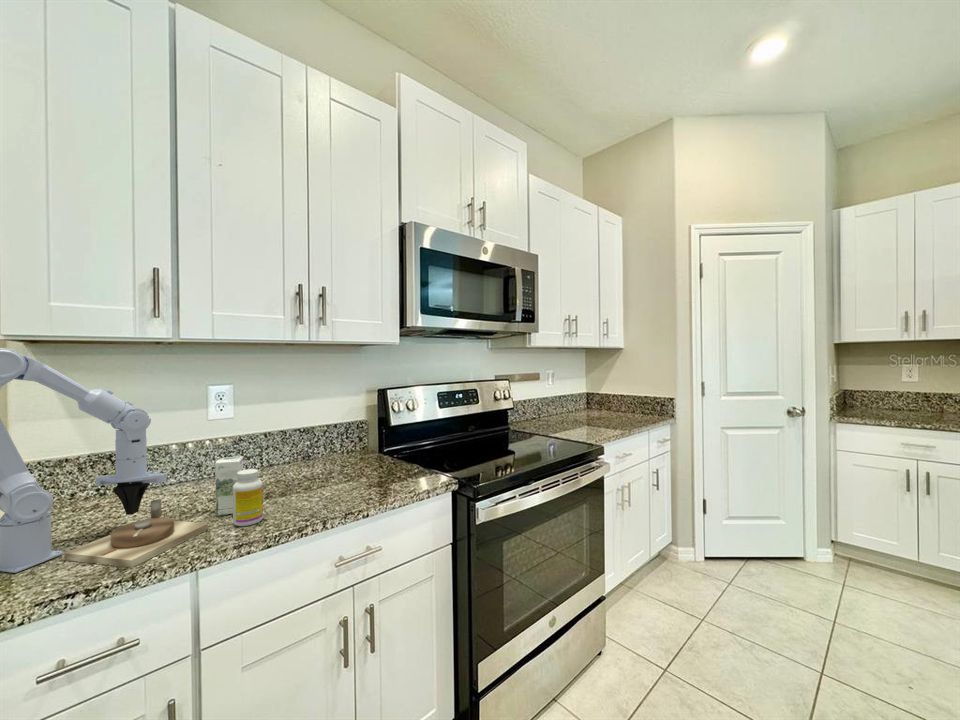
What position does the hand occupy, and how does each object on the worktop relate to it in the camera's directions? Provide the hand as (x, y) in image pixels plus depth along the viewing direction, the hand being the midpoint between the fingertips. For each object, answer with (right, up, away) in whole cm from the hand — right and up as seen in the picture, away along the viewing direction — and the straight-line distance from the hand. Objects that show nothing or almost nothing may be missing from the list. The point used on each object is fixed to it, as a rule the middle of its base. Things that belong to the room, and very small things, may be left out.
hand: (132, 513), depth 98 cm
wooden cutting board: (+8, -4, -7) cm, 12 cm away
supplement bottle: (+25, -4, +5) cm, 26 cm away
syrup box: (+17, -4, +12) cm, 21 cm away
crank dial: (+8, -2, -5) cm, 10 cm away
